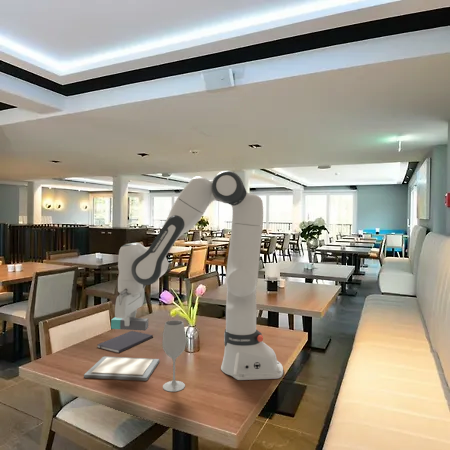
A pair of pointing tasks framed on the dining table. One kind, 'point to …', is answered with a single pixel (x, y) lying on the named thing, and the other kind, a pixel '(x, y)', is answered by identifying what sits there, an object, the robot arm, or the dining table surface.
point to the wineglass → (174, 349)
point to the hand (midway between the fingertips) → (129, 323)
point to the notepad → (122, 368)
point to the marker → (135, 324)
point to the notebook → (124, 341)
